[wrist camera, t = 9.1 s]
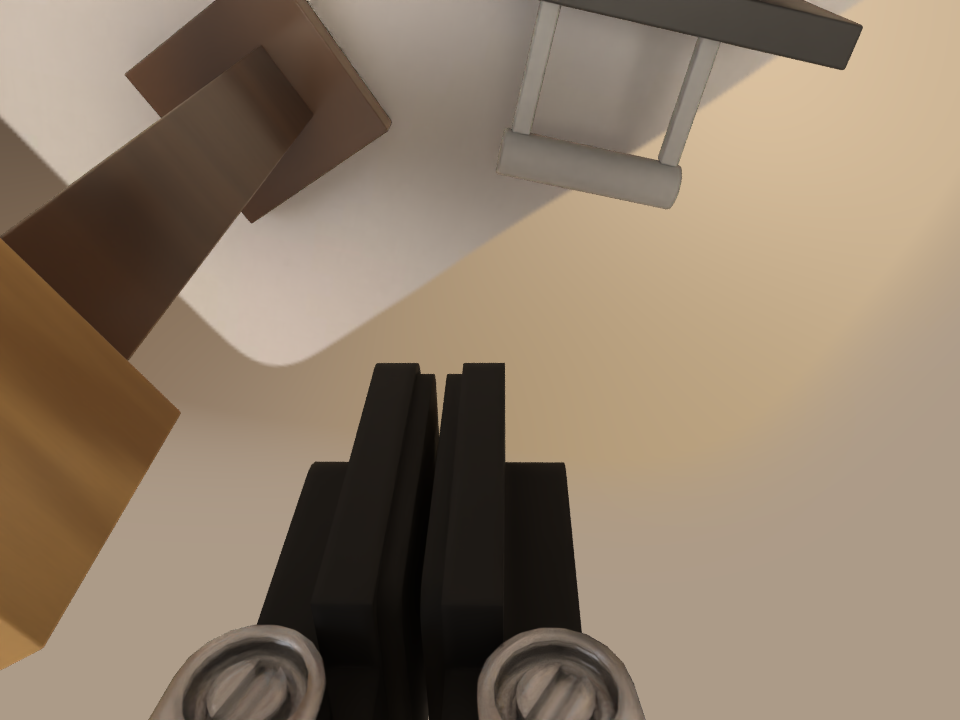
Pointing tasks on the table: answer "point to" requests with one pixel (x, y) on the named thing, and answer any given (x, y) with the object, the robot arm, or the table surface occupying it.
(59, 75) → the table surface
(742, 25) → the drawer
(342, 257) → the table surface
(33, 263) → the stand
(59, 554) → the block
